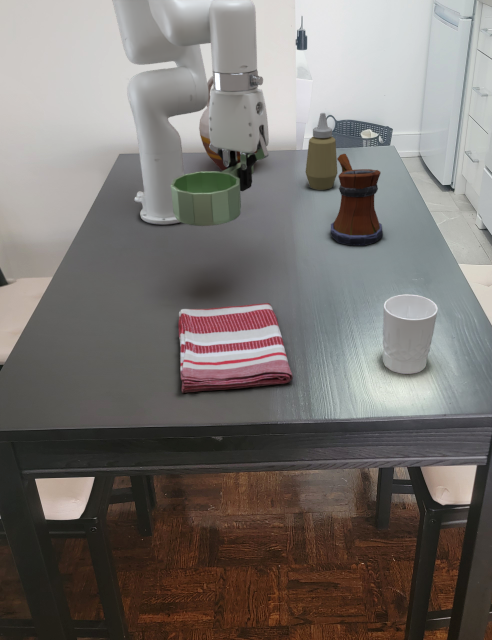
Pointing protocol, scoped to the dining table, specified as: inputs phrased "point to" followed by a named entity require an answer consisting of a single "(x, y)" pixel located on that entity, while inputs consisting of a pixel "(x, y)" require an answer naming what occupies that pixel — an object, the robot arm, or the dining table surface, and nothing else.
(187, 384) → the dish towel
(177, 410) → the dining table surface
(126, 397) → the dining table surface
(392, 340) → the white cup
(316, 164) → the squeeze bottle
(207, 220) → the green saucepan
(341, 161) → the mug
